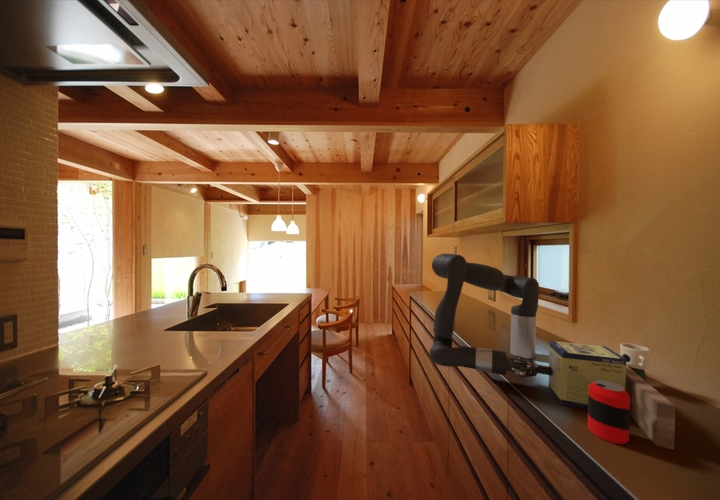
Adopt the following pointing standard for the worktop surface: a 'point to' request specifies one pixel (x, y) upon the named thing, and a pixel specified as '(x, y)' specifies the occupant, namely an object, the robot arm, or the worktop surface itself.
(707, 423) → the worktop surface
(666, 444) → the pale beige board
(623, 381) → the protein box
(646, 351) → the character mug
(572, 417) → the worktop surface
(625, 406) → the soda can
